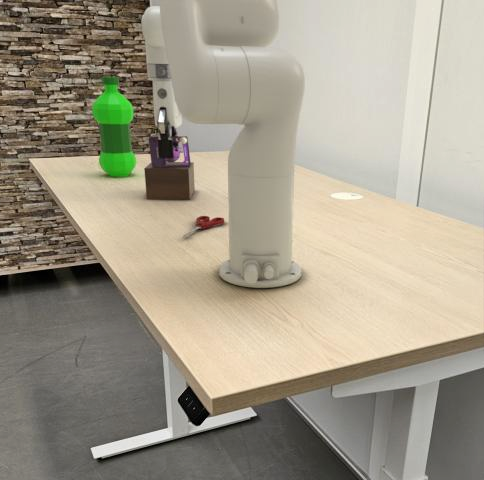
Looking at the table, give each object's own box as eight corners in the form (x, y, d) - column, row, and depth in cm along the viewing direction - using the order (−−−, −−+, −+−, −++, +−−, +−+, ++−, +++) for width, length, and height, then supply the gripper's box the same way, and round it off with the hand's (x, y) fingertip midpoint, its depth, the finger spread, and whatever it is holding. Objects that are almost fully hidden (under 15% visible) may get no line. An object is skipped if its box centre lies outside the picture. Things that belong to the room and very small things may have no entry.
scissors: (226, 222, 116) (225, 217, 116) (197, 240, 104) (197, 234, 104) (201, 219, 117) (201, 214, 117) (170, 237, 105) (169, 231, 105)
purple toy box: (148, 136, 130) (188, 135, 134) (145, 141, 135) (183, 140, 138) (152, 166, 131) (191, 165, 134) (149, 170, 136) (186, 169, 139)
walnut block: (189, 199, 134) (188, 169, 131) (146, 198, 134) (144, 168, 131) (194, 191, 143) (193, 162, 140) (154, 190, 143) (152, 161, 140)
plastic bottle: (141, 177, 157) (133, 78, 147) (100, 179, 153) (89, 77, 143) (136, 171, 165) (128, 76, 155) (97, 172, 162) (87, 76, 151)
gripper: (176, 74, 120) (180, 161, 127) (186, 73, 135) (189, 150, 143) (139, 73, 119) (146, 161, 127) (154, 72, 135) (159, 150, 142)
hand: (169, 155), depth 135 cm, fingers open, 7 cm apart
